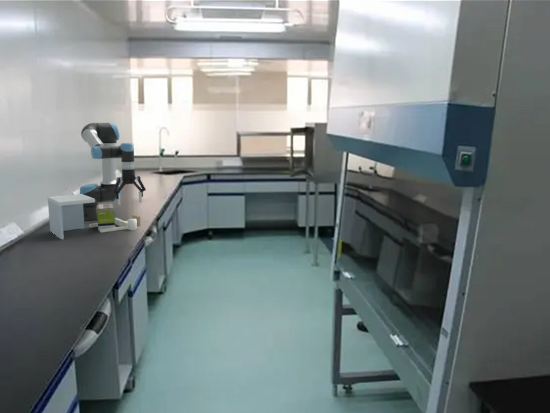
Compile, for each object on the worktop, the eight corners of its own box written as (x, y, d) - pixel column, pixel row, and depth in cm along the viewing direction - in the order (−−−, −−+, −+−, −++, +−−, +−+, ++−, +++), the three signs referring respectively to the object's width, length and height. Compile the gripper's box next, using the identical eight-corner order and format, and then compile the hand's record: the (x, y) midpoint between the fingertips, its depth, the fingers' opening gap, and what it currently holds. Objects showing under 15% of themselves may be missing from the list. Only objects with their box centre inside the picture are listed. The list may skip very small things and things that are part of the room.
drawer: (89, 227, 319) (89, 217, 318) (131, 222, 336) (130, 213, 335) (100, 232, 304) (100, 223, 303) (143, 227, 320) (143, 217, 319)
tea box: (97, 227, 321) (96, 204, 319) (114, 226, 325) (112, 203, 322) (98, 232, 307) (96, 208, 305) (115, 231, 311) (114, 207, 308)
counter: (50, 232, 307) (47, 196, 303) (83, 227, 319) (81, 193, 315) (61, 239, 288) (59, 202, 285) (96, 234, 301) (94, 198, 297)
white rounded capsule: (127, 230, 313) (126, 219, 311) (135, 229, 316) (134, 218, 315) (130, 231, 309) (129, 220, 307) (138, 230, 312) (138, 219, 311)
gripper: (110, 170, 296) (112, 206, 300) (150, 168, 311) (151, 202, 315) (105, 169, 302) (107, 204, 306) (145, 167, 317) (146, 200, 321)
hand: (129, 203), depth 310 cm, fingers open, 13 cm apart
